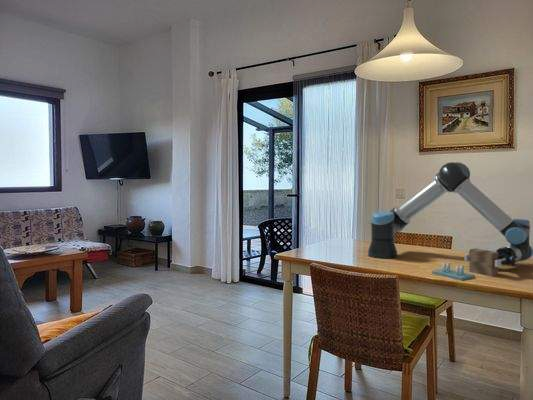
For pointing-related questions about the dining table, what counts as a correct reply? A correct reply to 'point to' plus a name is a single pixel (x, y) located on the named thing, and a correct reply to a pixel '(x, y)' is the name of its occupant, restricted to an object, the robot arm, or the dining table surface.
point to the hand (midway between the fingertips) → (480, 260)
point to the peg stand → (453, 272)
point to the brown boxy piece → (483, 262)
